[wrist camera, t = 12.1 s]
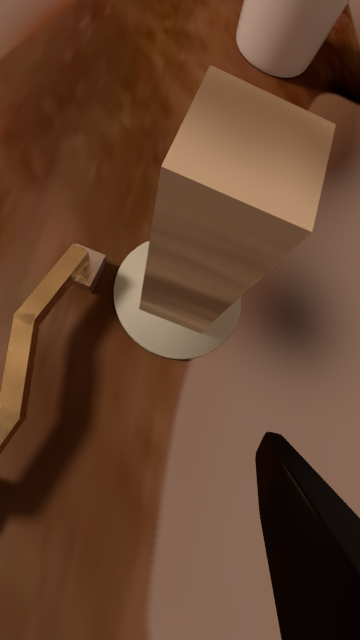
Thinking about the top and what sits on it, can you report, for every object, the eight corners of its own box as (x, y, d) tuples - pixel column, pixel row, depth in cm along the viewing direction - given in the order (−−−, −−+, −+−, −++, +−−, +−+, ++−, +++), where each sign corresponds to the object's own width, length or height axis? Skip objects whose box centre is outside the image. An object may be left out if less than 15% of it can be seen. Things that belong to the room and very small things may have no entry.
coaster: (219, 379, 19) (222, 378, 18) (91, 329, 18) (90, 328, 18) (252, 267, 22) (254, 264, 21) (143, 221, 21) (143, 217, 21)
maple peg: (200, 333, 19) (312, 232, 8) (138, 309, 19) (161, 166, 7) (218, 278, 20) (336, 124, 9) (161, 255, 20) (210, 65, 9)
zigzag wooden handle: (-20, 533, 14) (-55, 565, 11) (-72, 516, 14) (-122, 545, 11) (111, 265, 20) (109, 242, 17) (74, 250, 19) (65, 225, 17)
